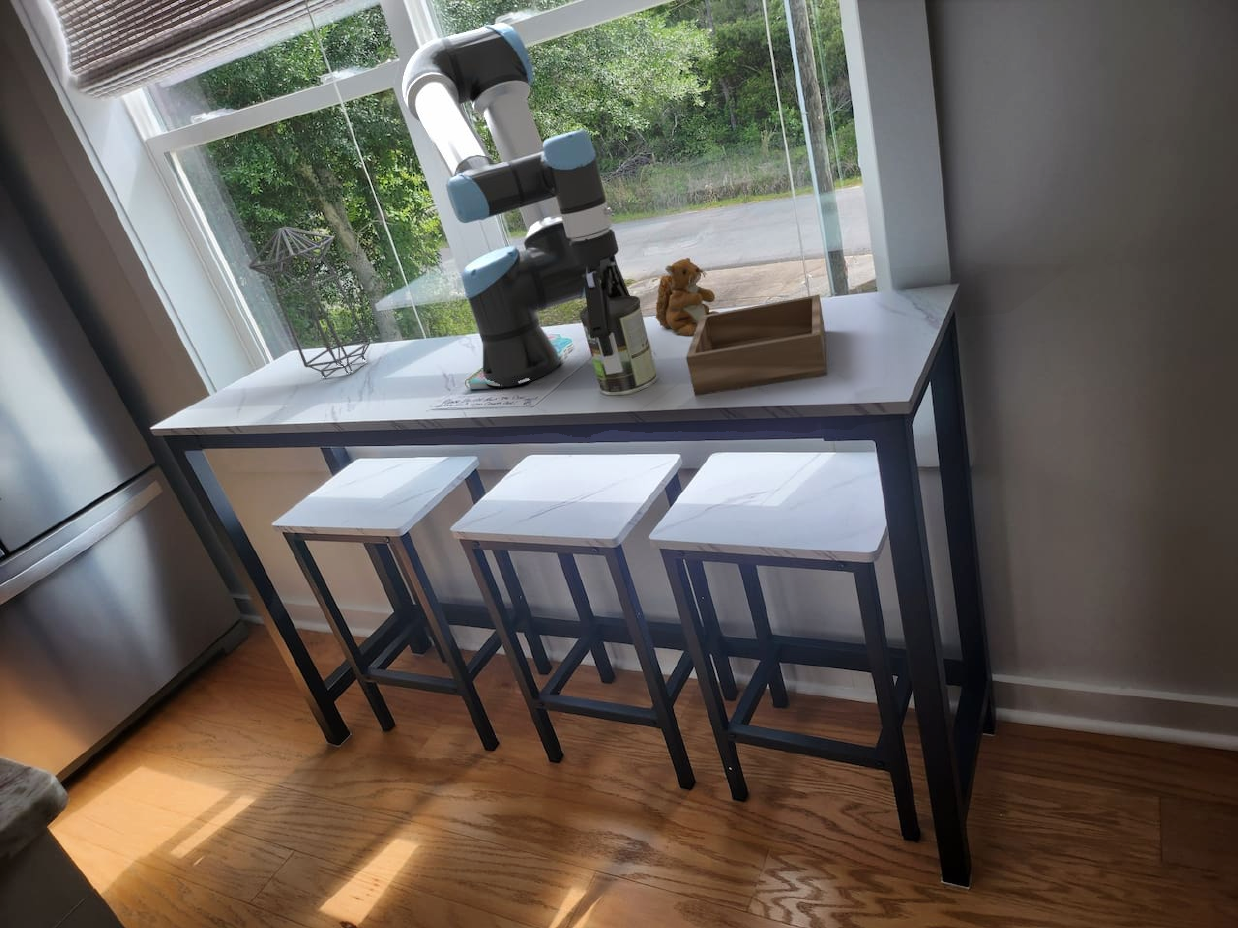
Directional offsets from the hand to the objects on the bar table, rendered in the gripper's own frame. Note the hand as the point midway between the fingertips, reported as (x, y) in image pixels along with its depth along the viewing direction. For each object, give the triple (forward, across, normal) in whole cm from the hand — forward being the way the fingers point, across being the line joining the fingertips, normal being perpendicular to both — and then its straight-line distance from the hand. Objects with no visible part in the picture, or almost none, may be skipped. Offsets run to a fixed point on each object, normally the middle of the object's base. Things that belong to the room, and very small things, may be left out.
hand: (623, 358), depth 145 cm
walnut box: (+5, 0, -23) cm, 23 cm away
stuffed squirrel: (+5, +28, -6) cm, 29 cm away
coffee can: (+5, 0, 0) cm, 5 cm away
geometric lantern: (+4, +40, +80) cm, 90 cm away
